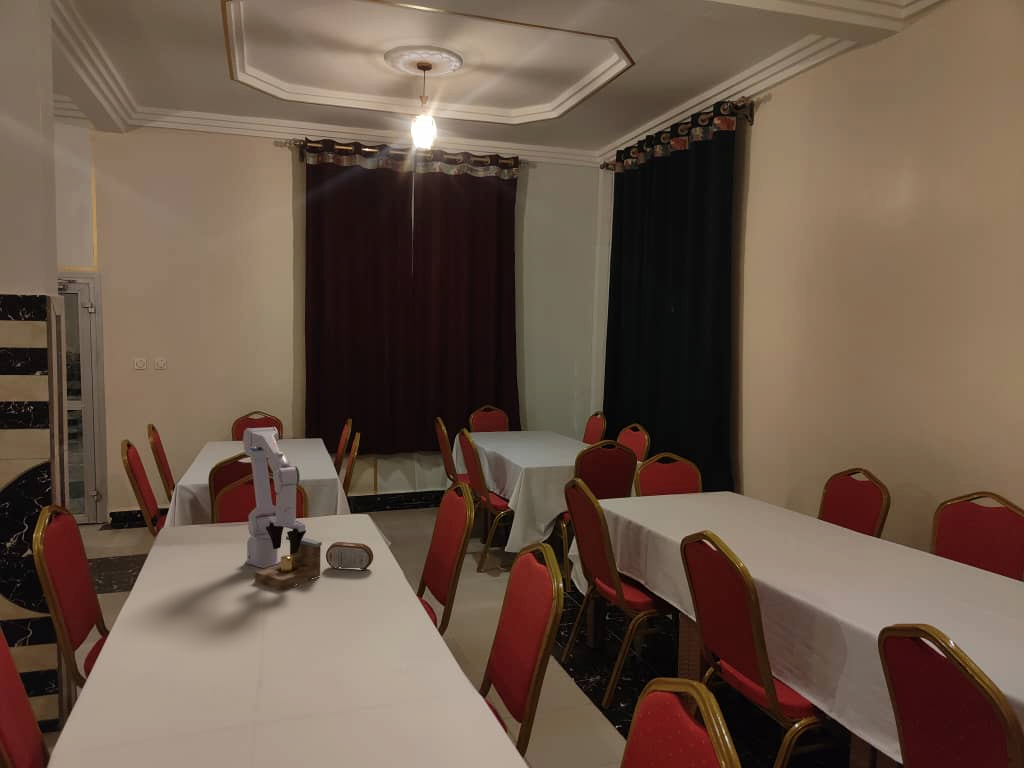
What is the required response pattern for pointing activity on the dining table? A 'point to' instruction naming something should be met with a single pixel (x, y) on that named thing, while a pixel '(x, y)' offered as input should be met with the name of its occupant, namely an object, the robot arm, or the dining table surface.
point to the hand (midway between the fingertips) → (285, 550)
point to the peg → (287, 564)
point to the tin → (349, 555)
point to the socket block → (294, 567)
